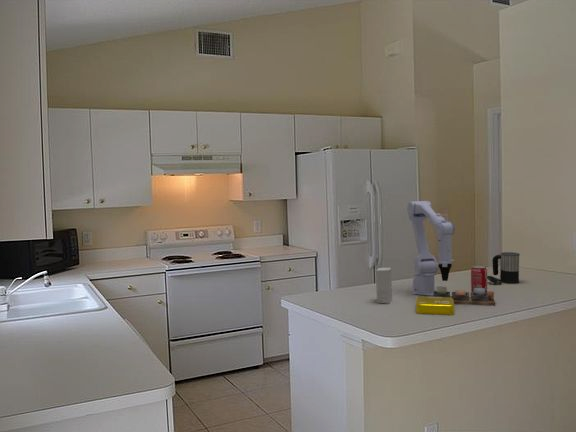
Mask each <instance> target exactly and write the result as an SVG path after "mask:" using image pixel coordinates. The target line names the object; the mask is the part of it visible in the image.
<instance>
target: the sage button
mask: <svg viewBox="0 0 576 432" xmlns="http://www.w3.org/2000/svg"><path fill="white" fill-rule="evenodd" d="M435 289H436V290H435V291H436V294H447V290H448V287H447V286H443V285H440V286H436V288H435Z"/></svg>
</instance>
